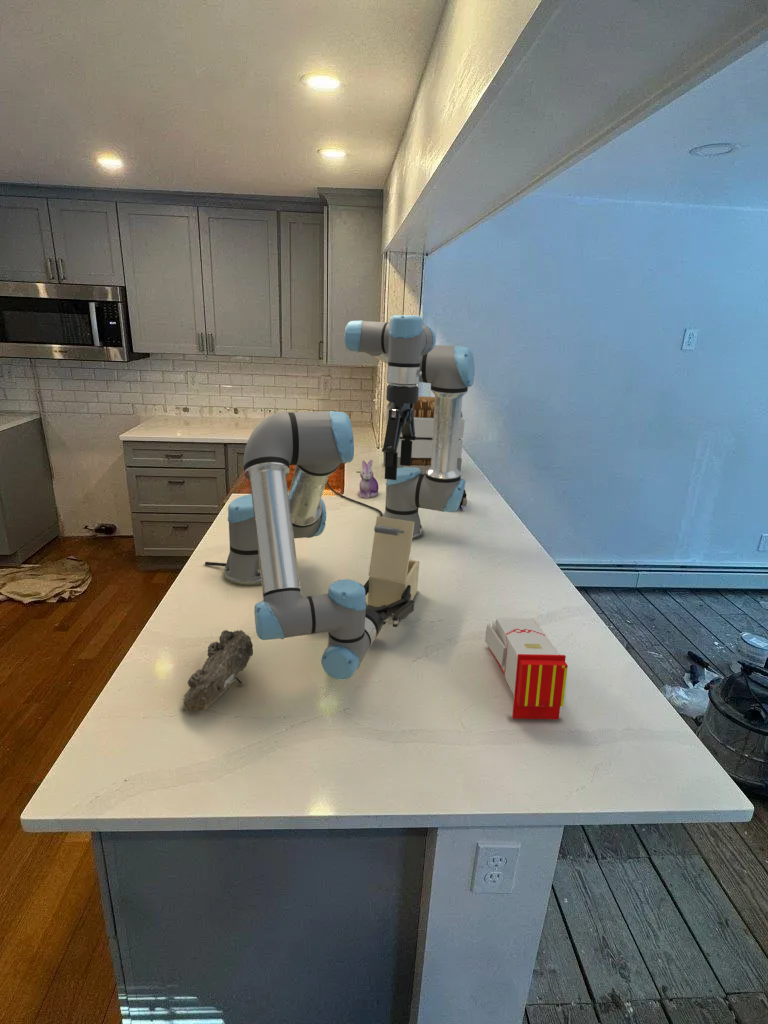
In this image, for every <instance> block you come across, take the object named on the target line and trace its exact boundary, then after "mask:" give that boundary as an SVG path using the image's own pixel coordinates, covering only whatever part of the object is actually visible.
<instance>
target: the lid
mask: <svg viewBox="0 0 768 1024" xmlns="http://www.w3.org/2000/svg"><path fill="white" fill-rule="evenodd" d="M414 523H415V522H412V521H405V520H398V519H392V518H385V517H383V516H382V517H380V516H376V520H375V525H374V534H373V541H372V549H371V555H370V561H369V562H370V563H369V567H368V577H370V576H373V577H379V578H385V579H390V580H396V581H401V582H406V578H407V572H408V565H409V559H411V558H410V557H411V550H412V543H413V539H412V537H413V530H414Z"/></svg>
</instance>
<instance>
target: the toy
mask: <svg viewBox="0 0 768 1024" xmlns="http://www.w3.org/2000/svg"><path fill="white" fill-rule="evenodd" d="M484 642H485V643H486V645H487V646H488V650H489V651H490V654H491V655H492V657H493V659H494V660H495V662H496V664H497V666H498V667H499V669H500V671H501V672H502V675H503V676H504V678H505V680H506V682H507V684H508V686H509V688H510V691H511V693H512V694H513V704H512V705H513V706H512V715H511V717H512V719H513V720H560V714H561V708H563V707H564V704H565V695H566V685H567V677H568V668H569V666H568V663H567V662H566V657H567V656H566V654H560V653H559V651H558V650H557V648H556V647H555V646H554V645H553V643H552V642H551V640H550V639H549V638H548V636H547V635H546V634H545V632H544V631H543V629H542V628H541V627H540V625H539V623H537V621H536V620H535V619H534V618H523V617H522V618H521V617H520V618H519V617H516V618H515V617H496V618H495V620H492V622H491V624H490V623H486V629H485V637H484Z"/></svg>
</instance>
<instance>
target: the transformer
mask: <svg viewBox="0 0 768 1024" xmlns="http://www.w3.org/2000/svg"><path fill="white" fill-rule="evenodd" d="M434 405H435V396H418V401H417V402H416V403H414V408H413V412H414V427H415V436H416V440H411V441H412V456H411V466H410V467H417V466H418V467H431V455H432V438H433V422H434ZM393 407H394V403H393V402H389V401H388V404H387V405H386V413H385V414H386V415H385V423H386V424H387V423H388V415H389V409H393ZM386 429H387V425H386V428H385V430H386ZM464 429H465V419H464V418H463V411H461V419H460V431H459V444H458V456H457V469H458V470H459V471H460V473H461V472H462V461H463V460H462V453H463V442H464V441H463V440H462V439H463V438H464V431H465V430H464ZM401 440H405V439H403V437H402V432H401V435H400V439H399V443H398V447H397V453H398V459H397V468H402V467H405V466H403V465H400V456H401ZM390 447H392V446H390ZM385 459H386V452H383V466H384V467H385ZM461 474H462V473H461Z"/></svg>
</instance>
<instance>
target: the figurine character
mask: <svg viewBox="0 0 768 1024" xmlns="http://www.w3.org/2000/svg"><path fill="white" fill-rule="evenodd" d="M467 503H468V498H467V492H466V488H464V492H463V496H462V500H461V503H460V505H459V507H458V509H460V511H463V507H464V508H465V507H467Z"/></svg>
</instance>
